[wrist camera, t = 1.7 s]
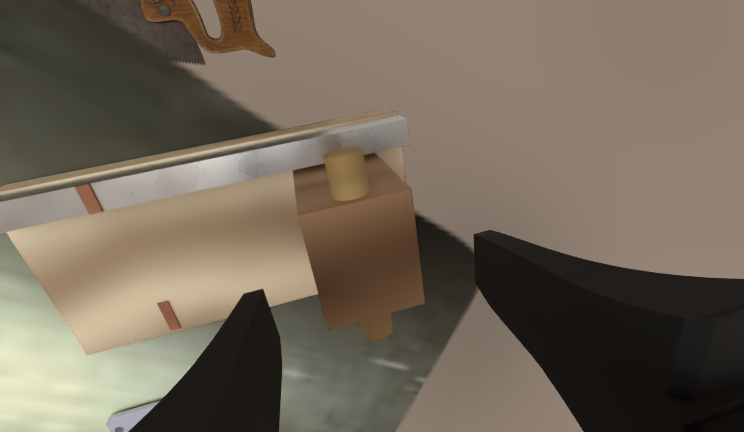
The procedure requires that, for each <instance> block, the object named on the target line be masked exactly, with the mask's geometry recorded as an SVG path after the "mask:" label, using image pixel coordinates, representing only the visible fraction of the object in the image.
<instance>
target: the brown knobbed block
mask: <svg viewBox="0 0 744 432" xmlns="http://www.w3.org/2000/svg"><path fill="white" fill-rule="evenodd" d="M323 158H324V164H320V165H315V166H310V167H306V168H301V169H296V170H293V178H294V188H295V197H296V207H297V216H298V220H299V224H300V227H301V231H302V235H303V239H304V242H305V246H306V250H307V254H308V257H309V261H310V265H311V268H312V272H313V276H314V280H315V283H316V287H317V291H318V295H319V298H320V302H321V306H322V309H323V313H324V317H325V321H326V324H327V328H328V331H329V330H332V329H336V328H340V327H343V326H347V325H350V324H354V323H357V322H359V323H360V328H361V332H362V335H363V336H364V337H365V338H366V339H368V340H371V341H379V340H382V339H385V338H386V337H388V336H389V335H390V334H391V333H392V330H393V324H392V318H391V313H393V312H396V311H400V310H404V309H407V308H411V307H414V306H418V305H421V304H425V300H424V291H423V283H422V274H421V266H420V257H419V248H418V240H417V231H416V223H415V214H414V206H413V197H412V190H411V188H410V187H409V186H408V185H407V184H406V183H405V182H404V181H403V180H402V179H401V178H400V177H399V176H398V175H397V174H396V173H395V172H394V171H393V170H392V169H391V168H390V167H389V166H388V165H387V164H386V163H385V162H384V161H383V160H382V159H381V158H380V157H379V156H378V155H377V154H376V153H371V154H366V155H364V153H363V149H362V148H360V147H347V148H340V149H336V150H333V151H330V152H328V153H326V154H325V155H324V156H323Z"/></svg>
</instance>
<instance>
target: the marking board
mask: <svg viewBox="0 0 744 432" xmlns="http://www.w3.org/2000/svg"><path fill="white" fill-rule="evenodd" d="M408 145H410V136H409V127H408V119H407V118H405V117H403V116H401V115H399V114H398V112H396V111H394V110H392V109H390V108H388V109H383V110H378V111H373V112H368V113H363V114H358V115H353V116H348V117H344V118H338V119H333V120H328V121H323V122H318V123H313V124H308V125H303V126H298V127H293V128H288V129H283V130H278V131H273V132H268V133H263V134H258V135H253V136H248V137H243V138H238V139H233V140H228V141H222V142H217V143H212V144H207V145H202V146H197V147H192V148H187V149H182V150H177V151H172V152H167V153H162V154H157V155H152V156H147V157H142V158H137V159H132V160H127V161H122V162H117V163H112V164H107V165H102V166H97V167H92V168H87V169H82V170H77V171H72V172H67V173H62V174H57V175H52V176H47V177H42V178H37V179H32V180H27V181H22V182H17V183H11V184H7V185H4V186H2V187H0V233H4V232H6V233H7V234H8V236H9V237H10V239H11V240H12V242H13V243H14V245H15V246H16V248H17V249H18V251H19V252H20V254H21V255H22V257H23V258H24V260H25V261H26V263H27V264H28V266H29V268H30V269H31V271H32V272H33V274H34V275H35V277H36V278H37V280H38V281H39V283H40V284H41V286H42V287H43V289H44V290H45V292H46V293H47V295H48V296H49V298H50V299H51V301H52V302H53V304H54V305H55V307H56V308H57V310H58V312H59V313H60V315H61V316H62V318H63V319H64V321H65V322H66V324H67V325H68V327H69V328H70V330H71V331H72V333H73V334H74V336H75V337H76V339H77V340H78V342H79V343H80V345H81V346H82V348H83V349H84V351H85V353H86V354H87V355H91V354H94V353H98V352H102V351H106V350H109V349H113V348H117V347H121V346H124V345H128V344H132V343H136V342H139V341H143V340H147V339H151V338H154V337H158V336H162V335H166V334H170V333H173V332H177V331H181V330H185V329H188V328H192V327H196V326H200V325H203V324H207V323H211V322H215V321H218V320H222V319H226V318H228V316H229V315H230V313H231V312H232V310H233V309H234V307H235V306H236V304H237V303H238V301H239V300H240V298H241V297H242V295H243V294H244V293H248V292H252V291H256V290H259V289H263V290H264V292H265V295H266V298H267V301H268V304H269V307H271V306H275V305H279V304H282V303H286V302H290V301H294V300H297V299H301V298H305V297H309V296H312V295H316V294H318V291H317V287H316V283H315V280H314V276H313V272H312V268H311V265H310V261H309V257H308V254H307V250H306V246H305V242H304V239H303V235H302V231H301V227H300V224H299V220H298V216H297V207H296V197H295V188H294V178H293V170H296V169H301V168H306V167H310V166H315V165H320V164H324V158H323V156H324V155H325V154H326V153H328V152H330V151H333V150H336V149H340V148H347V147H360V148H362V149H363V153H364V155H366V154H371V153H376V154H377V155H378V156H379V157H380V158H381V159H382V160H383V161H384V162H385V163H386V164H387V165H388V166H389V167H390V168H391V169H392V170H393V171H394V172H395V173H396V174H397V175H398V176H399V177H400V178H401V179H402V180H403V181H404V182H405V183H406V177H405V168H404V160H403V151H402V147H403V146H408Z"/></svg>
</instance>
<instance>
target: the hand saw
mask: <svg viewBox="0 0 744 432" xmlns="http://www.w3.org/2000/svg"><path fill="white" fill-rule="evenodd" d="M78 1H79V2H81V3H82V4H84V5H85V6H86V7H87V8H89V9H91V10H93V11H94V12H96V13H98V14H100V15H102V16H104V17H105V18H107V19H108V20H109V21H111V22H112V23H114V24H115V25H117V26H119V27H121V28H123V29H125V30H127V31H129V32H130V33H132V34H133V35H134V36H136V37H137V38H139V39H140V40H142V41H144V42H146V43H148V44H150V45H152V46H154V47H155V48H157V49H158V50H159V51H160V52H162V53H164V54H165V55H167V56H169V57H171V58H173V59H174V60H176V61H177V62H178V61H179V62H180V63H181V61H182V63H184V61H185V63H186V64H187V62H188V63H189V64H190V62H191V63H192V64H193V63H195V65H196V63H197V64H198V65H199V63H200V64H201V65H202V64H203V65H205V60H204V58H203V55H202V53H201V51H200V48H199V46H198V44H199V45H200V46H201V47H202V48H203V49H204V50H206V51H207V52H210V53H226V52H232V51H237V50H243V49H245V50H250V51H253V52H256V53H258V54H260V55H263V56H267V57H275V56H276V54H275V51H274V49H273V48H272V47H270V46H269V45H268V44H267V43H265V42H264V41H263V40H262V39H261V38H260V36H259V35H258V33H257V31H256V28H255V23H254V16H253V10H252V4H251V0H213V2H214V5H215V7H216V10H217V13H218V17H219V20H220V25H221V36H220V37H219V38H212V37H210V36H209V35H208V33H207V31H206V28H205V26H204V23H203V20H202V18H201V15H200V13H199V11H198V9H197V7H196V5H195V4H194V2H193V0H78ZM197 42H198V44H197Z"/></svg>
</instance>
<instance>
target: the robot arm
mask: <svg viewBox="0 0 744 432" xmlns="http://www.w3.org/2000/svg"><path fill="white" fill-rule="evenodd" d="M474 256H475V280H476V285H477V286H478V288H479V290H480V291H481V293H482V294H483V296H484V298H485V299H486V301H487V302H488V304H489V305H490V307H491V308H492V309H493V310H494V312H495V313H496V314H497V315H498V316H499V317H500V319H501V320H502V321H503V322H504V324H505V325H506V326H507V327H508V328H509V329H510V331H511V332H512V333H513V334H514V335H515V336H516V338H517V339H518V340H519V341H520V342H521V343H522V345H523V346H524V347H525V348H526V349H527V350H528V352H529V353H530V354H531V355H532V356H533V358H534V359H535V360H536V362H537V363H538V364H539V365H540V367H541V368H542V369H543V371H544V372H545V374H546V375H547V377H548V378H549V380H550V381H551V383H552V384H553V385H554V387H555V388H556V390H557V391H558V393H559V394H560V396H561V397H562V399H563V400H564V402H565V403H566V405H567V406H568V408H569V409H570V411H571V413H572V414H573V416H574V417H575V419H576V420H577V422H578V423H579V425H580V427H581V428H582V430H583V431H584V432H744V279H727V278H704V277H693V276H681V275H671V274H662V273H654V272H647V271H641V270H634V269H628V268H622V267H616V266H611V265H607V264H603V263H598V262H593V261H589V260H585V259H581V258H577V257H574V256H570V255H567V254H563V253H560V252H557V251H553V250H550V249H547V248H544V247H541V246H538V245H535V244H532V243H529V242H526V241H523V240H520V239H517V238H515V237H512V236H509V235H505V234H502V233H499V232H495V231H492V230H488V231H485V232H481V233H477V234H474ZM281 382H282V355H281V343H280V336H279V333H278V330H277V327H276V324H275V321H274V319H273V316H272V313H271V310H270V307H269V304H268V301H267V298H266V295H265V292H264V290H263V289H259V290H256V291H252V292H248V293H244V294H243V295H242V297H241V298H240V300H239V301H238V303H237V304H236V306H235V307H234V309H233V310H232V312H231V313H230V315H229V316H228V318H227V319H226V321H225V322H224V324H223V325H222V327H221V328H220V330H219V331H218V333H217V334H216V335H215V337H214V338H213V340H212V341H211V342H210V344H209V345H208V346H207V348H206V349H205V350H204V352H203V353H202V354H201V355H200V357H199V358H198V359H197V361H196V362H195V363H194V364H193V366H192V367H191V368H190V369H189V370H188V372H187V373H186V374H185V375H184V376H183V377H182V378H181V380H180V381H179V382H178V383H177V384H176V385H175V386H174V387H173V388H172V389H171V390H170V392H169V393H168V394H167V395H166V396H165V397H164V398H163V399H162V400H161V401H158V402H154V403H151V404H147V405H144V406H140V407H137V408H133V409H130V410H126V411H123V412H120V413H116V414H113V415H111V416H110V417H109V419H108V421H107V427H108V428H109V429H110V431H111V432H279V418H280V400H281Z"/></svg>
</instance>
